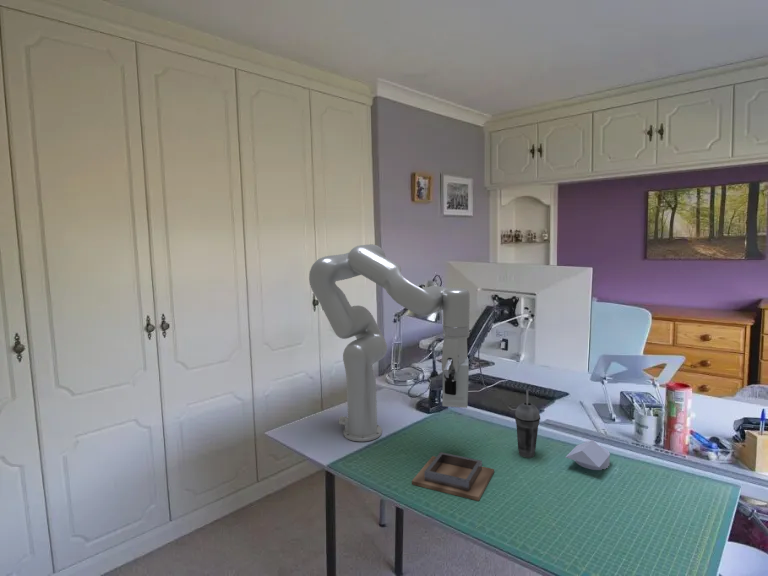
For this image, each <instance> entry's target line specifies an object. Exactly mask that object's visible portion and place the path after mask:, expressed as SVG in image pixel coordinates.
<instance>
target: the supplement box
mask: <svg viewBox="0 0 768 576" xmlns="http://www.w3.org/2000/svg"><path fill="white" fill-rule="evenodd" d="M469 364H470V363H469V358H467V359H466V360H465V361H464V362H463V363H462V364H461V365H460V368H459V372H457V373H456V378H455V381H456V395H450V394H445V380H444V379H445V376H444V371H442V398H441V399H442V400H441V401H442V402H441V405H442V407H448V408H449V407H450V408H464V409H467V408H468V402H469V401H468V400H469V399H468V398H469V377H470V376H469V374H470V373H469V372H470V371H469V367H470V366H469ZM450 370H455V369H454V367H453V363H452V366H451V369H450ZM450 374H451V375H452V377H453V373H450Z"/></svg>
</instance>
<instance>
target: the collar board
mask: <svg viewBox="0 0 768 576" xmlns="http://www.w3.org/2000/svg"><path fill="white" fill-rule="evenodd" d="M494 473H495V468H491V467H490V468H489V467H487V466H483V460H481V459H476V458H471V457H467V456H462V455H455V454H453V453H452V454H451V453H447V452H441V451H440V452H439V453H438V454H437V456H435V455H432V456H431V457H430V458H429V459H428V461H427V462H426V463H425V464H424V466H423V467H422V468H421V469H420V470H419V471H418V472H417V474H416V475H415V476H414V477H413V479H411V485H413V486H416V487H420V488H424V489H429V490H433V491H436V492H441V493H444V494H449V495H454V496H456V497H457V496H458V497H461V498H465V499H468V500H469V499H470V500H473V501H476V502H477V501H478V502H479V501H480V500H481V497H483V494H484V493H485V491H486V489H487V487H488V485H489V483H490V481H491V479H492V478H493V476H494Z"/></svg>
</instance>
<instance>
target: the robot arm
mask: <svg viewBox="0 0 768 576" xmlns="http://www.w3.org/2000/svg"><path fill="white" fill-rule="evenodd" d="M358 276H363V277H365V278H366V279H367V280H369V281H372V282H373V283H375V284H376V285H378V286H380V287H381V288H383V289H384V290H385V291H386V293H387V295H389V296H390V298H391V299H392V300H393V301H394V302H395V303H397V304H398V305H400V306H402V308H405V309H406V310H408V311H410V312H412V313H414V314H416V315H419V316H429V315H431V314H433V313H435V312H439V311H442V337H443V342H442V350H441V351H442V356H441V371H442V372H443V371H444V376H445V379H444V380H445V394H450V395H456V381H455V378H456V373H457V372H459V368H460V365H461V364H462V363H463V362H464V361H465V360H466V359H468V338H469V337H470V307H471V306H470V305H471V304H470V302H471V301H470V292H469V290H467V289H466V288H462V287H444V286H441V285H440V286H439V285H430V286H426V287H424V288H422V287H419V286H418V285H416V284H415V283H413V282H411V281H410V280H408V279H407V278H405V276H403V274H402V268H401V265H400V264H399V263H397V262H395V261H393V260H392V259H390V258H389V257H386V253H385V250H384V249H383V248H381V247H380V246H379V245H376V244H362V245H357V246H354V247H353V248H352V249H350V250H349V251H348V252H347V253H342V254H333V255H325V256H322V257H319V258H318V259H316V261H314V263H312V265H311V267H310V271H309V274H308V279H309V285H310V288H311V290H312V292H313V294H314V296H315V298H316V299H317V301H318V303H319V304H320V306H321V308H322V311H323V313H324V314H325V317H326V318H327V320H328V322H329V324H330V327H331V328H332V330H333V332H334V334H335V335H336V336H337V337H338V338H339V339H342V340H343V339H344V340H346V339H351V338H352V337H353V338H354V337H355V340H353V341H351V342H349V343H348V344H347V345H346V347H345V348H344V349H343V353H342V361H343V366H344V371H345V378H346V397H347V398H346V399H347V402H346V403H347V416H343V415H342V416H341V415H340V417H339V419H338V420H339V421H338V425H340V426H344V429H343V436H344V438H346V439H347V440H349V441H353V442H360V443H361V442H368V441H374V440H376V439H379V437H381V435H382V434H383V429H382V427H381V426H380V425H378V412H377V411H378V410H377V409H378V407H377V406H378V405H377V402H378V400H377V377H376V375H375V371H374V369H373V365H374V364H376V363H377V362H379V361H381V360H382V359H384V357H386V355H387V351H388V345H387V342H386V339H385V337H384V335H383V332H382V331H381V329H380V328H379V325H378V323H377V321H376V320H375V318H374V316H373V315H372V313H371V311H369V309H368V308H366V307H365V306H363V305H353V306H352V305H351V303H350V302H349V300H348V298H347V296H346V294H345V293H344V292H343V290H342V289H341V288H340V287H339V286H338V285H337V284H336V282H339V281H343V280H348V279H352V278H355V277H358ZM452 363H453V367H454V369H455V370H450V369H451V366H452ZM450 373H453V377H452V375H451V374H450Z"/></svg>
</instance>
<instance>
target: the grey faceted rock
mask: <svg viewBox="0 0 768 576" xmlns="http://www.w3.org/2000/svg"><path fill="white" fill-rule="evenodd" d="M610 457H611V454H610V451H609V450H608V449H607V448H605V447H604V446H601V445H599V443H597V442H596V441H595V440H594V439H590V440H589V441H586V442H583V443H580V444H576V446H574V447H573V449H572V450H571V451H570V452H569V453H567V455H566V456H565V459H569V460H572V461H575V463H576V464H577V465H579V466H580V467H583V468H585V469H588V470H593V471H603V470H602V469H604V470H606V468H607V469H608V468H609V467H610V461H611V459H610ZM608 466H609V467H608Z"/></svg>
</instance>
